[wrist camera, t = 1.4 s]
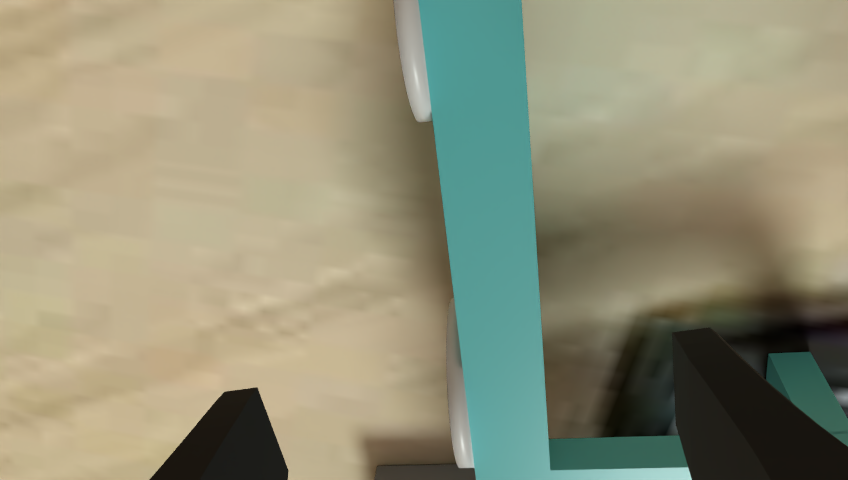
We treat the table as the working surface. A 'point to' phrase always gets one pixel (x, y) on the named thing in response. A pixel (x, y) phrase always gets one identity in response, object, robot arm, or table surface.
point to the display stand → (425, 472)
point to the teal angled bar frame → (518, 260)
